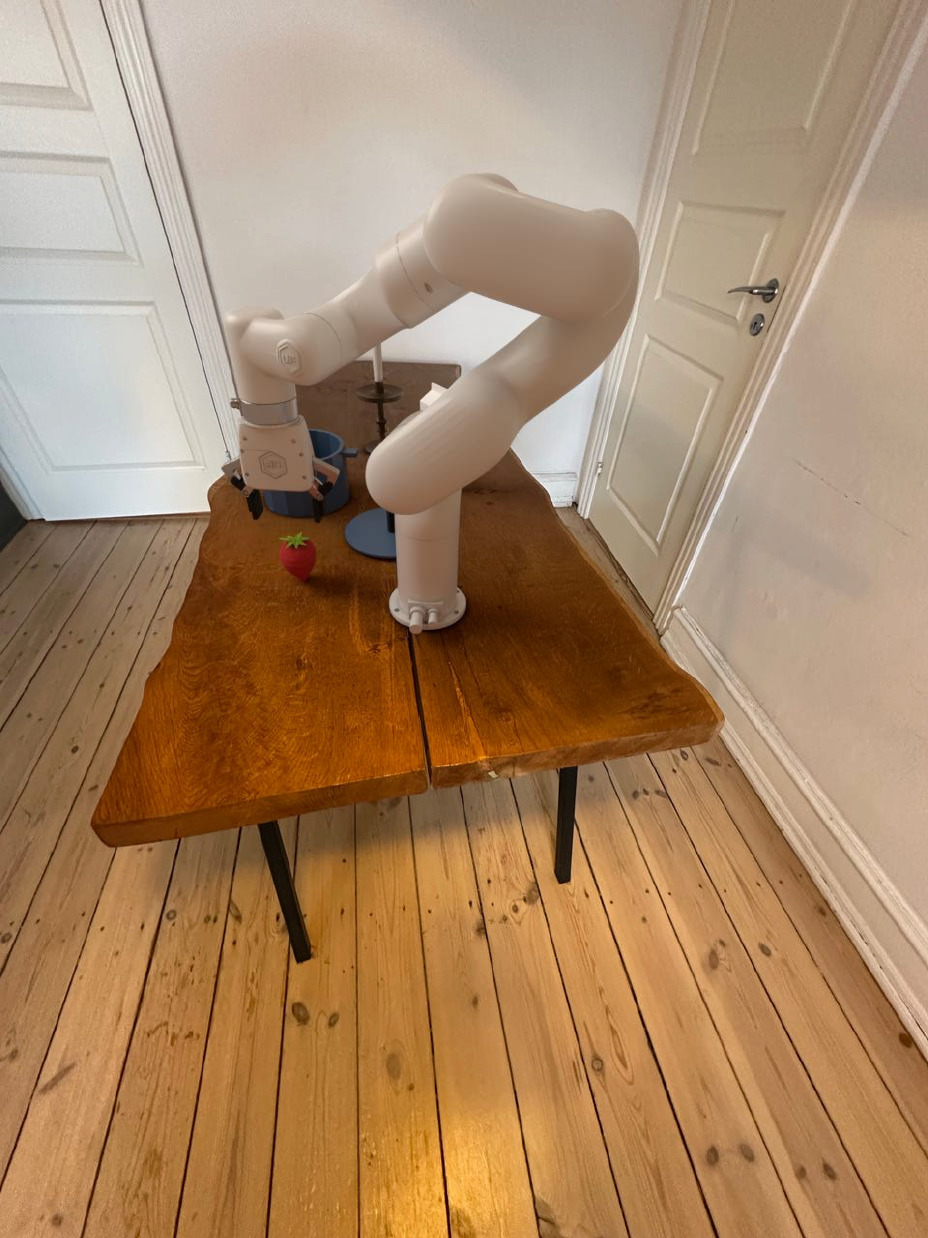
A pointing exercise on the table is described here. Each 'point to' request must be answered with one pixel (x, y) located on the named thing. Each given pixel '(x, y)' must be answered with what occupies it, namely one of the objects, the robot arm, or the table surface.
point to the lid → (373, 533)
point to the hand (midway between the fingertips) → (289, 517)
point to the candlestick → (378, 397)
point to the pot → (330, 452)
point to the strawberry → (298, 556)
